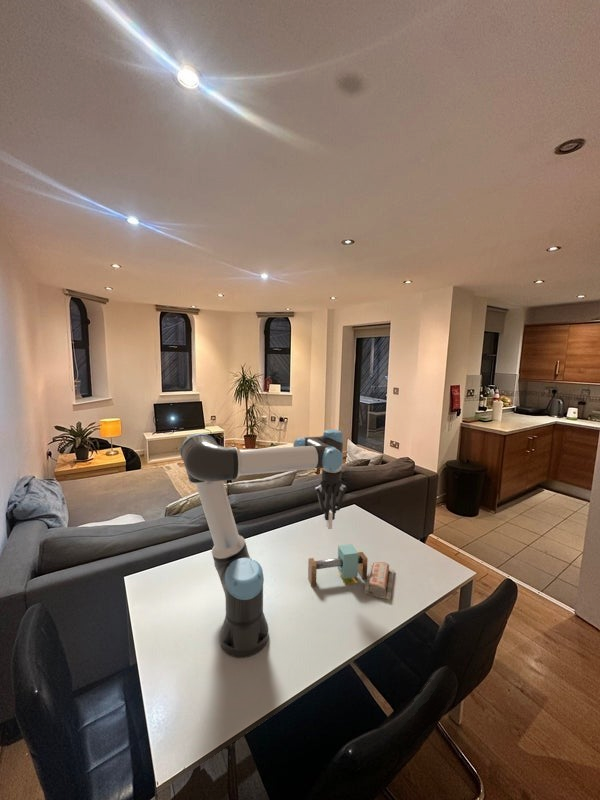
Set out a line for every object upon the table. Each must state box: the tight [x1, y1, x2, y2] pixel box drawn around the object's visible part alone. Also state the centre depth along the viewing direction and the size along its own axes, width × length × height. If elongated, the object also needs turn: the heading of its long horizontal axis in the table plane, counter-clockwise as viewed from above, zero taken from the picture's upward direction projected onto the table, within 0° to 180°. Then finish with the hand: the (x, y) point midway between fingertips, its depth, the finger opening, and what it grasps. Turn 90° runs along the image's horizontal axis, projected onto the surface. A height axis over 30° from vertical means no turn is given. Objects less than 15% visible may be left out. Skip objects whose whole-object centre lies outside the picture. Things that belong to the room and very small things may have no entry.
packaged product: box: [363, 561, 395, 601], centre depth 132 cm, size 18×5×10 cm
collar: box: [337, 543, 359, 578], centre depth 134 cm, size 6×7×10 cm
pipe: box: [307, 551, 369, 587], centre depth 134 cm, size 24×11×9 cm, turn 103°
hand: (329, 527), depth 130 cm, fingers closed
